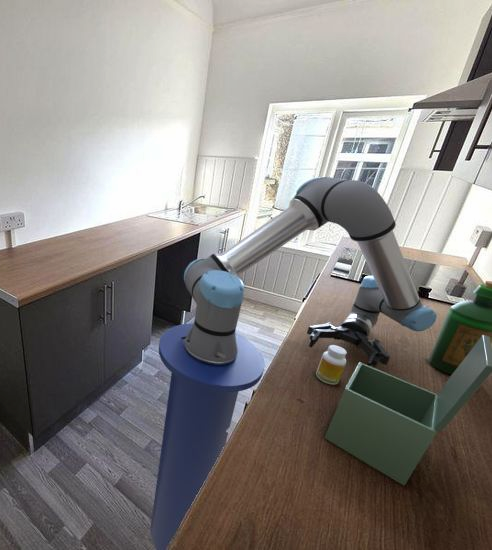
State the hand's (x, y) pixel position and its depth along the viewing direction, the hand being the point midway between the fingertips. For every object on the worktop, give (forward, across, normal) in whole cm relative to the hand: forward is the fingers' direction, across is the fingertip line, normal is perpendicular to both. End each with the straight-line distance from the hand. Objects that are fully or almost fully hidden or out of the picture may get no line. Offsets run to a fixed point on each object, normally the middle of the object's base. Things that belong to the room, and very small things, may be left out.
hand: (338, 354), depth 83 cm
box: (+21, -12, -6) cm, 25 cm away
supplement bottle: (+5, 0, -6) cm, 8 cm away
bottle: (-30, -23, -6) cm, 39 cm away
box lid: (+21, -19, +15) cm, 32 cm away
